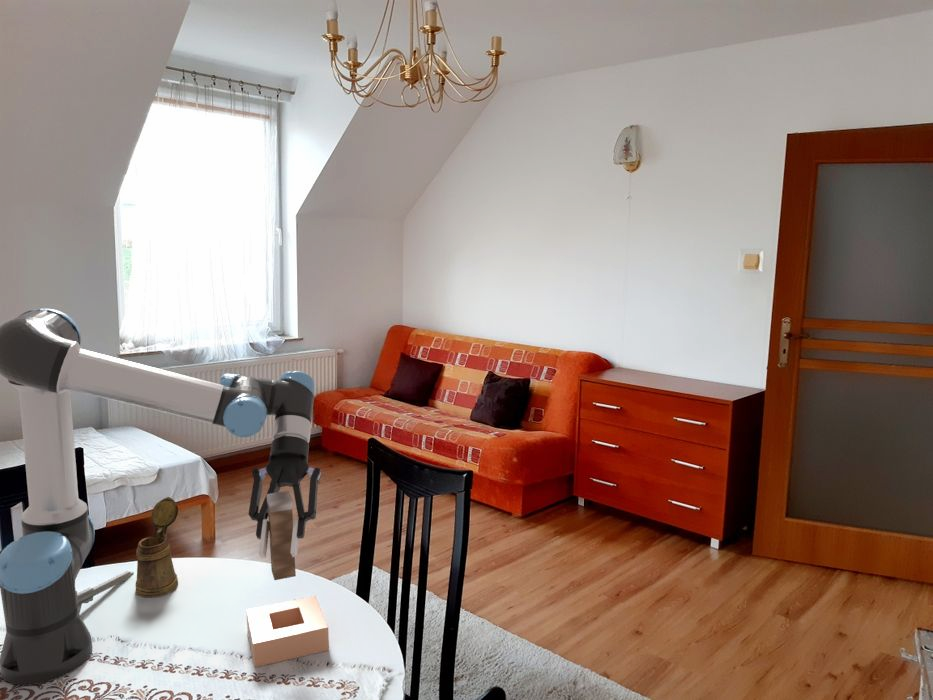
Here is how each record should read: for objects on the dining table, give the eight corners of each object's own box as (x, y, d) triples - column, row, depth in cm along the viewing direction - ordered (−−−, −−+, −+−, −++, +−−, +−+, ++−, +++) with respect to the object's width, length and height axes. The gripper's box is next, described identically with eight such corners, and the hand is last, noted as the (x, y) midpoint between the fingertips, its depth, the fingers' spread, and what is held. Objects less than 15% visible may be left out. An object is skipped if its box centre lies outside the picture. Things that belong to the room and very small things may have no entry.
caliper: (71, 624, 147) (67, 597, 145) (66, 623, 147) (63, 596, 146) (134, 574, 166) (132, 549, 165) (130, 573, 166) (127, 549, 165)
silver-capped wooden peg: (274, 580, 136) (269, 502, 132) (270, 570, 140) (266, 494, 136) (296, 576, 137) (292, 499, 134) (292, 566, 141) (288, 490, 138)
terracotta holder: (254, 667, 134) (253, 643, 133) (247, 631, 144) (246, 609, 143) (328, 650, 139) (328, 627, 138) (316, 617, 150) (316, 595, 149)
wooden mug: (193, 567, 169) (188, 496, 165) (167, 598, 156) (160, 522, 152) (156, 566, 170) (150, 495, 166) (127, 597, 156) (119, 521, 153)
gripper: (337, 449, 150) (329, 560, 137) (249, 450, 149) (233, 562, 136) (332, 433, 143) (324, 548, 131) (241, 434, 143) (223, 550, 130)
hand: (278, 554), depth 134 cm, fingers closed on silver-capped wooden peg, 5 cm apart
